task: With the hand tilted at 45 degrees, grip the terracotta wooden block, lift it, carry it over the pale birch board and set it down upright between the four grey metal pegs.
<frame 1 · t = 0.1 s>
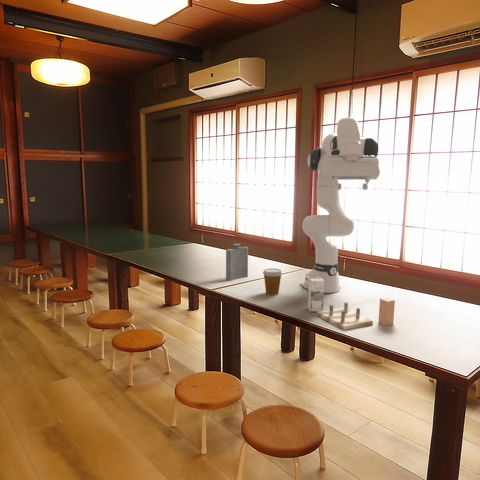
hand: (352, 189, 149), 54 cm above the table, tool tilted 30°, fingers open, 8 cm apart
disposable coffee cup: (272, 293, 205), on the table
hip flask: (236, 278, 235), on the table
syrup box: (315, 310, 180), on the table
terracotta block: (385, 323, 165), on the table
peg board: (344, 319, 168), on the table
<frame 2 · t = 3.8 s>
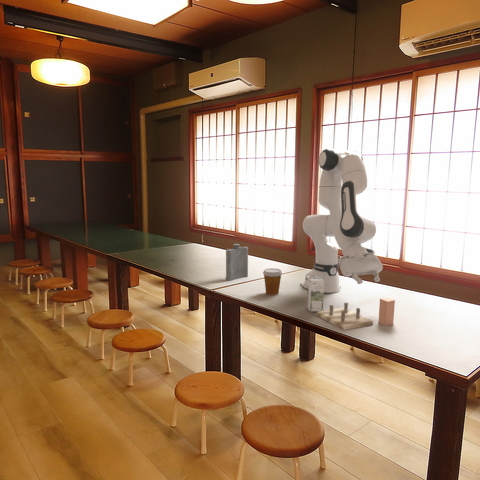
hand: (369, 282, 172), 14 cm above the table, tool tilted 45°, fingers open, 8 cm apart
nothing on the table moved.
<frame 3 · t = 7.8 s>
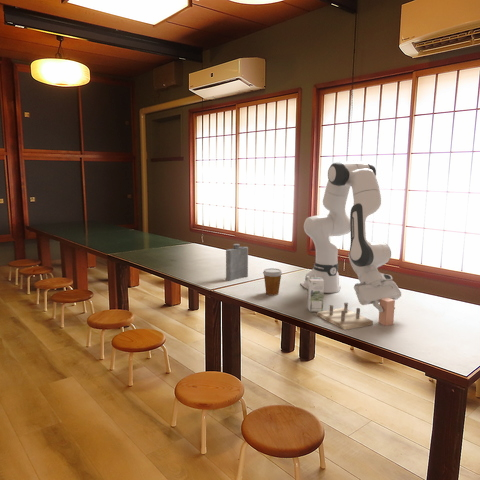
hand: (387, 310, 163), 5 cm above the table, tool tilted 45°, fingers closed on terracotta block, 4 cm apart
terracotta block: (385, 323, 165), on the table, touching gripper
everything else where it was.
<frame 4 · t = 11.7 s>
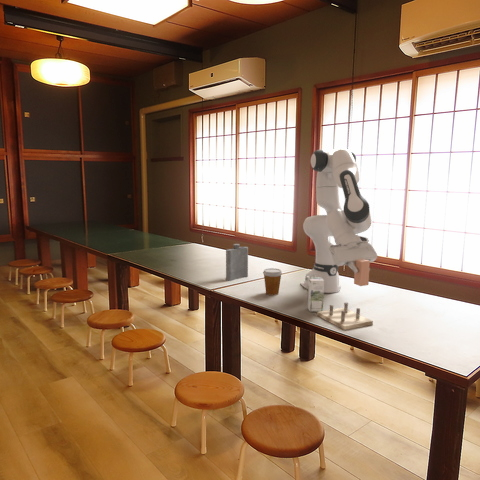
hand: (362, 271, 163), 21 cm above the table, tool tilted 45°, fingers closed on terracotta block, 4 cm apart
terracotta block: (361, 284, 165), point 16 cm above the table, touching gripper
everything else where it was.
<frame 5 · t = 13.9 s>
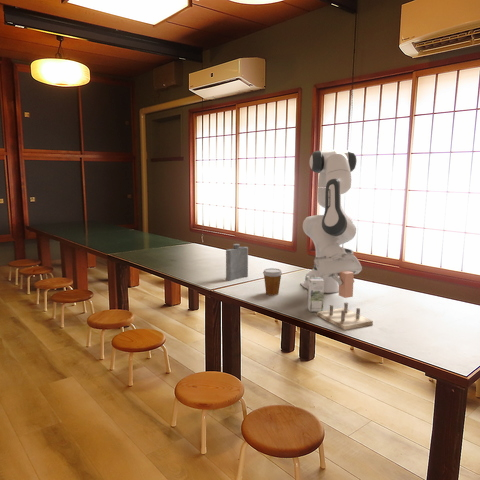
hand: (347, 283, 165), 16 cm above the table, tool tilted 45°, fingers closed on terracotta block, 4 cm apart
terracotta block: (345, 296, 167), point 10 cm above the table, touching gripper
everything else where it was.
when the fingers open (8 cm above the table, at t = 15.8 s): terracotta block drops 1 cm, resting on peg board.
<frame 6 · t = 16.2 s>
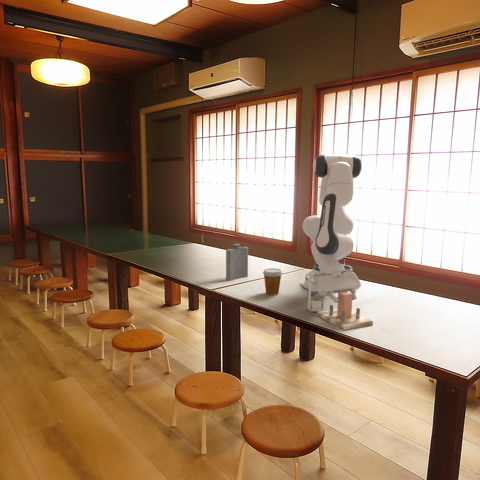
hand: (346, 300, 167), 8 cm above the table, tool tilted 45°, fingers open, 8 cm apart
terracotta block: (344, 316, 168), point 2 cm above the table, touching peg board
everything else where it was.
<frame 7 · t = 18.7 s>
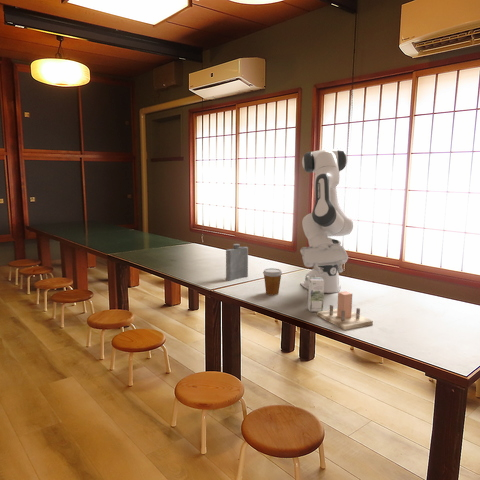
hand: (331, 272, 172), 18 cm above the table, tool tilted 45°, fingers open, 8 cm apart
nothing on the table moved.
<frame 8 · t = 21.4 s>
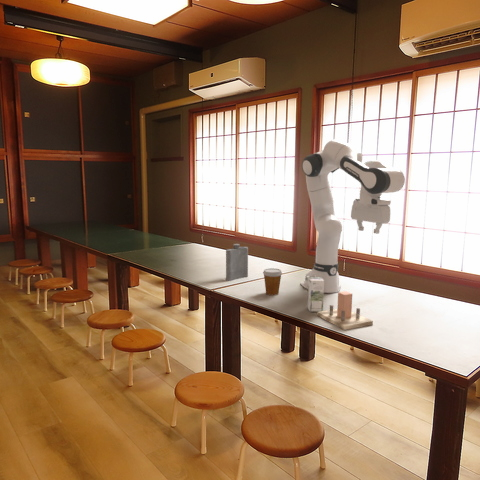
hand: (368, 231, 175), 35 cm above the table, tool pointing down, fingers open, 8 cm apart
nothing on the table moved.
at the end: terracotta block 0.1 cm off-centre on the peg board, point 1.5 cm above the peg board's base; terracotta block tilted 0°; the gripper is holding nothing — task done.
